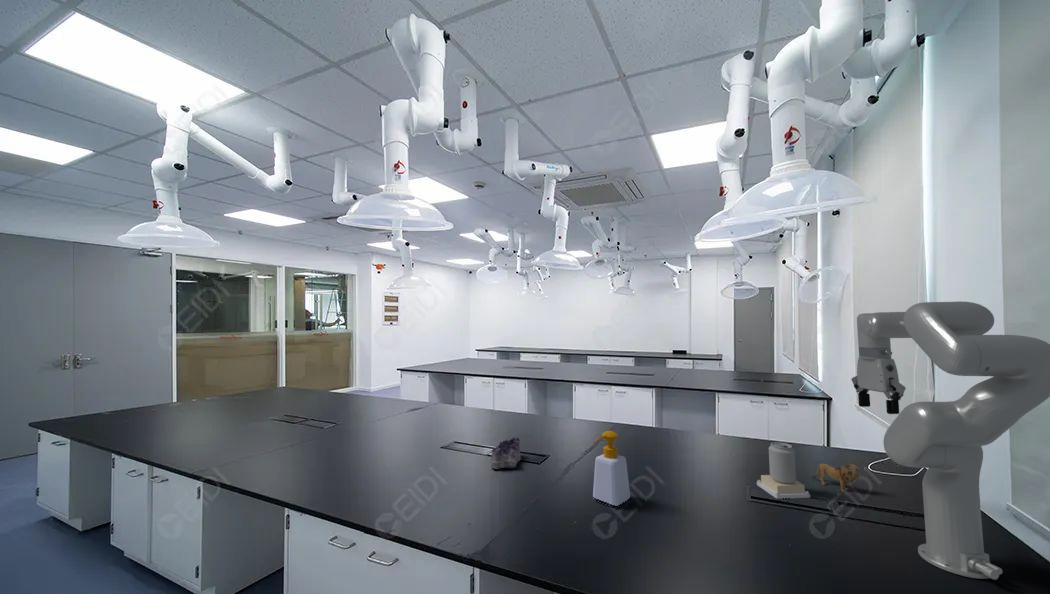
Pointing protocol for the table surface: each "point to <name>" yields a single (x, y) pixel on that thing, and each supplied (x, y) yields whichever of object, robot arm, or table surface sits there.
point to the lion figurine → (839, 474)
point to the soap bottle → (611, 474)
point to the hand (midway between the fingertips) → (878, 409)
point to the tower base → (796, 495)
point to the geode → (506, 454)
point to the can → (782, 463)
